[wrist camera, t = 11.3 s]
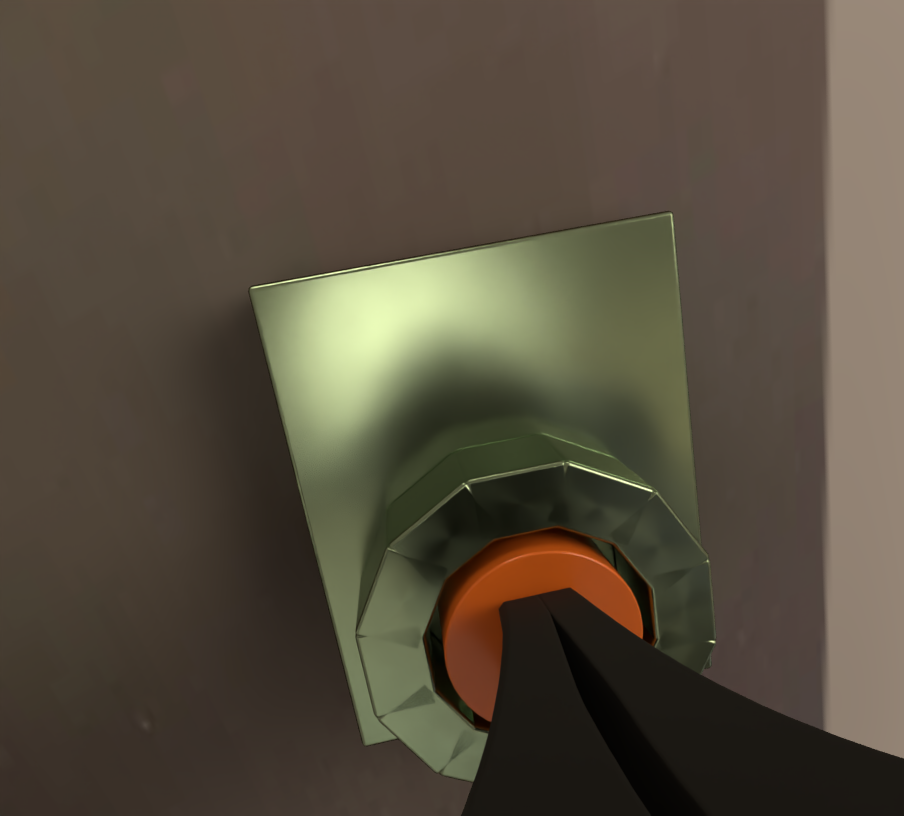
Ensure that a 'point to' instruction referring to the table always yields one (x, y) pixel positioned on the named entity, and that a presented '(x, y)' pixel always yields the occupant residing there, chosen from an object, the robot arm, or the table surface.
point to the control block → (486, 446)
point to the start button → (512, 577)
